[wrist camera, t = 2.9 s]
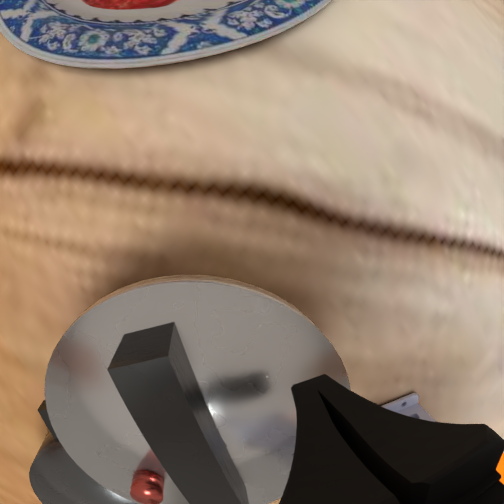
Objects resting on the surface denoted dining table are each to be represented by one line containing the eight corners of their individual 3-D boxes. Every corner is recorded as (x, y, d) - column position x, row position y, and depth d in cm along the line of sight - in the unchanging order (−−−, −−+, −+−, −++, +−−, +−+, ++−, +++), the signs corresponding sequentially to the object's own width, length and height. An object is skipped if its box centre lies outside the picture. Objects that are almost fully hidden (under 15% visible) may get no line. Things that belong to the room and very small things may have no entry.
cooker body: (225, 350, 19) (234, 399, 14) (266, 508, 23) (277, 549, 18) (9, 376, 17) (-23, 413, 12) (103, 520, 21) (97, 556, 16)
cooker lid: (352, 481, 16) (374, 521, 12) (147, 526, 15) (144, 569, 11) (314, 232, 13) (358, 249, 9) (8, 318, 11) (-37, 353, 8)
